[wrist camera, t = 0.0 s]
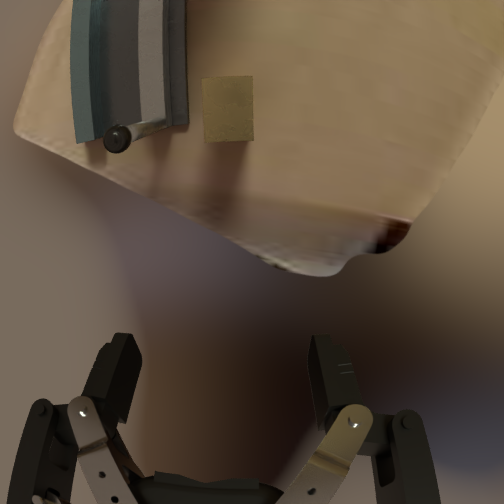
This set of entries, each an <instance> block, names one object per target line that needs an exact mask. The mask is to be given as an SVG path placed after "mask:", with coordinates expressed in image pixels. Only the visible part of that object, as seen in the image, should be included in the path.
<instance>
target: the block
mask: <svg viewBox="0 0 504 504" xmlns="http://www.w3.org/2000/svg"><path fill="white" fill-rule="evenodd" d="M202 102H203V122H204V140H205V143H207V142H226V141H254V133H253V78H252V76H231V77H214V78H202Z"/></svg>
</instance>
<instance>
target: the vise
mask: <svg viewBox="0 0 504 504" xmlns="http://www.w3.org/2000/svg"><path fill="white" fill-rule="evenodd" d="M186 4H187V0H169V76H170V97H171V114H172V126H173V125H182V124H189V123H190V120H189V102H188V80H187V40H186ZM138 22H139V0H73V8H72V20H71V40H70V74H71V95H72V108H73V118H74V127H75V136H76V143H77V144H78V143H82V142H87V141H91V140H95V139H98V138H101V137H103V136H104V134H105V132H106V130H107V129H108V128H109V127H111V126H113V125H116V124H122V125H125V126H128V125H131V124H135V123H138V122H142V115H141V102H140V85H139V57H138Z"/></svg>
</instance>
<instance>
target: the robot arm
mask: <svg viewBox="0 0 504 504" xmlns="http://www.w3.org/2000/svg"><path fill="white" fill-rule="evenodd" d="M307 365H308V373H309V378H310V384H311V389H312V396H313V402H314V407H315V414H316V419H317V426H318V431H319V430H325V433H326V436H325V438H324V439H323V441H322V442H321V444H320V445H319V447H318V448H317V450H316V451H315V453H314V454H313V455H312V457H311V458H310V459H309V461H308V462H307V464H306V465H305V466H304V468H303V469H302V471H301V472H300V473H299V475H298V476H297V477H296V479H295V480H294V481H293V482H292V484H291V485H290V486H289V488H288V489H287V490H286V491H285V493H284V492H283V491H281V490H280V489H278V488H276V487H273V486H271V485H268V484H265V483H260V482H259V479H227V480H222V481H216V482H210V483H203V482H199V481H196V480H193V479H190V478H187V477H184V476H181V475H178V474H170V473H163V472H157V471H155V475H154V476H149V477H145V476H144V474H143V473H142V471H141V470H140V468H139V467H138V466H137V465H136V464H135V462H134V461H133V459H132V457H131V455H130V454H129V452H128V450H127V448H126V446H125V444H124V442H123V440H122V438H121V436H120V434H119V432H118V430H117V424H118V422H120V423H124V424H126V422H127V418H128V414H129V410H130V406H131V403H132V399H133V395H134V391H135V388H136V384H137V381H138V377H139V374H140V370H141V367H142V355H141V353H140V350H139V348H138V346H137V344H136V341H135V339H134V337H133V335H132V334H129V333H115V334H114V337H113V339H112V341H111V343H106V344H105V345H104V346H103V347H102V348H101V349H100V350H99V353H98V355H97V357H96V361H95V362H94V365H93V368H92V370H91V372H90V374H89V377H88V379H87V382H86V385H85V387H84V390H83V392H82V394H81V396H78V397H76V398H74V399H73V400H71V402H70V403H69V404H62V405H53V404H52V403H51V402H50V401H48V400H47V399H39V400H37V401H35V402H34V403H33V405H32V407H31V409H30V412H29V415H28V418H27V421H26V424H25V427H24V430H23V434H22V437H21V440H20V444H19V448H18V451H17V455H16V459H15V463H14V467H13V471H12V476H11V481H10V486H9V492H8V498H7V504H71V503H70V497H71V491H72V484H73V478H74V472H75V467H76V462H77V458H78V460H79V463H80V466H81V468H82V471H83V473H84V475H85V478H86V480H87V482H88V484H89V487H90V489H91V491H92V493H93V495H94V497H95V499H96V501H97V503H98V504H328V503H329V502H330V500H331V499H332V497H333V496H334V494H335V493H336V491H337V490H338V488H339V487H340V485H341V483H342V482H343V480H344V479H345V477H346V475H347V473H348V471H349V467H350V465H351V463H352V462H353V460H354V458H355V456H356V455H366V456H371V461H372V468H373V475H374V483H375V491H376V500H377V504H441V501H440V495H439V489H438V484H437V479H436V474H435V469H434V465H433V460H432V456H431V452H430V448H429V444H428V440H427V436H426V433H425V429H424V425H423V421H422V419H421V417H420V415H419V414H418V413H417V412H415V411H413V410H407V409H406V410H402V411H400V412H398V413H397V414H396V415H385V414H378V413H374V412H372V411H370V410H369V409H368V408H366V406H365V405H364V404H363V401H362V398H361V395H360V391H359V387H358V384H357V381H356V377H355V374H354V372H353V367H352V365H351V361H350V357H349V354H348V352H347V351H346V350H345V349H344V347H343V346H342V345H341V344H339V345H333V344H332V340H331V337H330V334H316V335H312V336H311V341H310V346H309V351H308V357H307ZM79 450H80V451H79Z"/></svg>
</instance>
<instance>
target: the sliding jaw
mask: <svg viewBox="0 0 504 504" xmlns="http://www.w3.org/2000/svg"><path fill="white" fill-rule="evenodd" d="M138 57H139V85H140V102H141V115H142V122H138V123H135V124H131V125H128V126H125V125H122V124H116V125H113V126H111V127H109V128H108V129H107V130H106V132H105V134H104V137H103V144H104V147H105V148H106V149H107V150H108V151H109V152H111V153H115V154H117V153H121V152H124V151H125V150H126V149H127V148H128V147H129V146H130V144H131V143H132V142H134V141H136V140H138V139H140V138H143V137H145V136H147V135H150V134H152V133H154V132H157V131H159V130H161V129H164V128H168V127H170V126H172V114H171V97H170V76H169V0H139V22H138Z"/></svg>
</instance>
